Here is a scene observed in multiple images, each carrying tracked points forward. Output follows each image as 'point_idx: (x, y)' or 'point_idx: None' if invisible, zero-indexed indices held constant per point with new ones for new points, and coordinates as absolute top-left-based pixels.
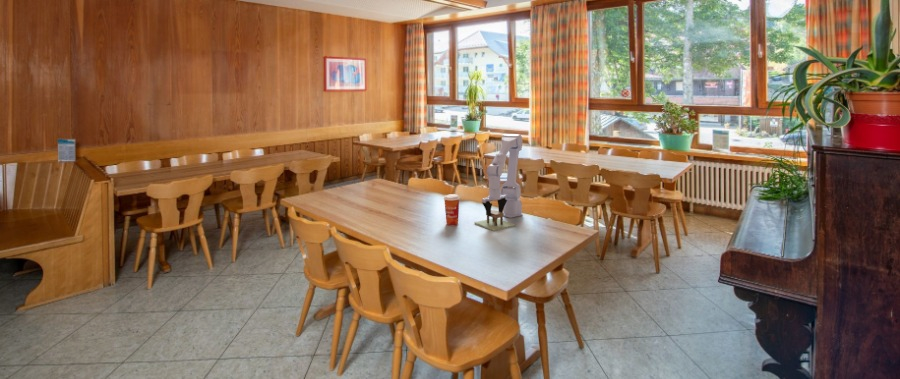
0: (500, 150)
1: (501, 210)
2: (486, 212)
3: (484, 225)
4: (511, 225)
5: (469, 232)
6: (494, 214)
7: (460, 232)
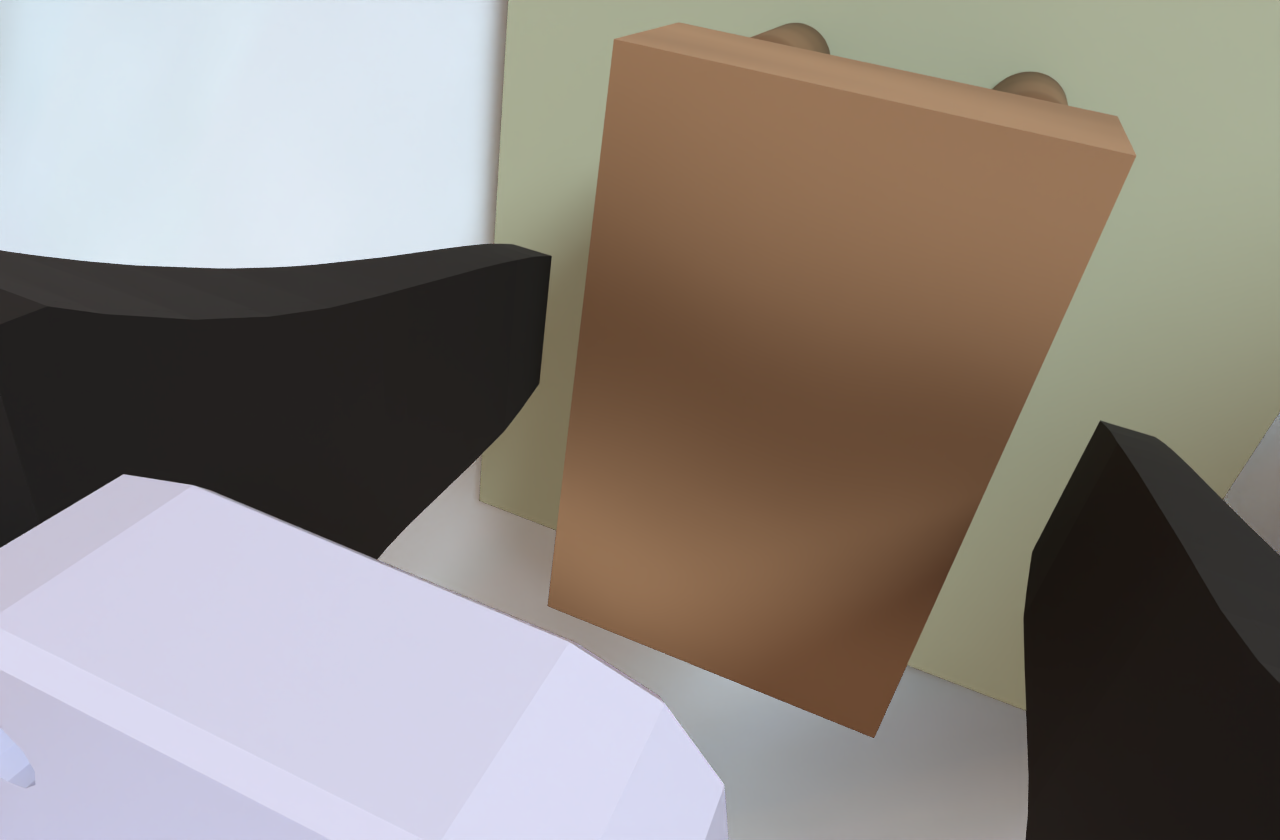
0: None
1: (1036, 642)
2: (437, 258)
3: (533, 167)
4: (952, 675)
5: (135, 155)
6: (560, 546)
7: (3, 8)
